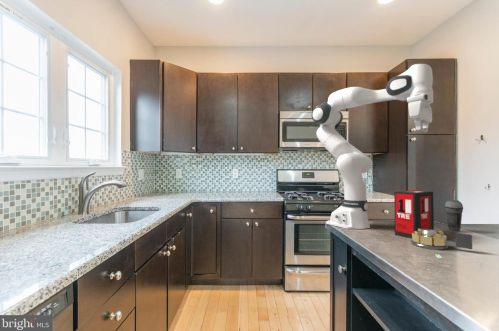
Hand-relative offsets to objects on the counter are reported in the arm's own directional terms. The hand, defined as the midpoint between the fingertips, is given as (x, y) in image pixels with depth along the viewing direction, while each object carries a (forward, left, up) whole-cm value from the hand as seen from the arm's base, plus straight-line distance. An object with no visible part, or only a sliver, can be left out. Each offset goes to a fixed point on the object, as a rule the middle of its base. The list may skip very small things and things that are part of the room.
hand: (421, 131), depth 113 cm
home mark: (+11, -25, -47) cm, 55 cm away
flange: (+5, -11, -47) cm, 49 cm away
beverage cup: (+6, +26, -48) cm, 55 cm away
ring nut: (+9, -11, -46) cm, 48 cm away
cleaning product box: (-5, +4, -48) cm, 48 cm away
